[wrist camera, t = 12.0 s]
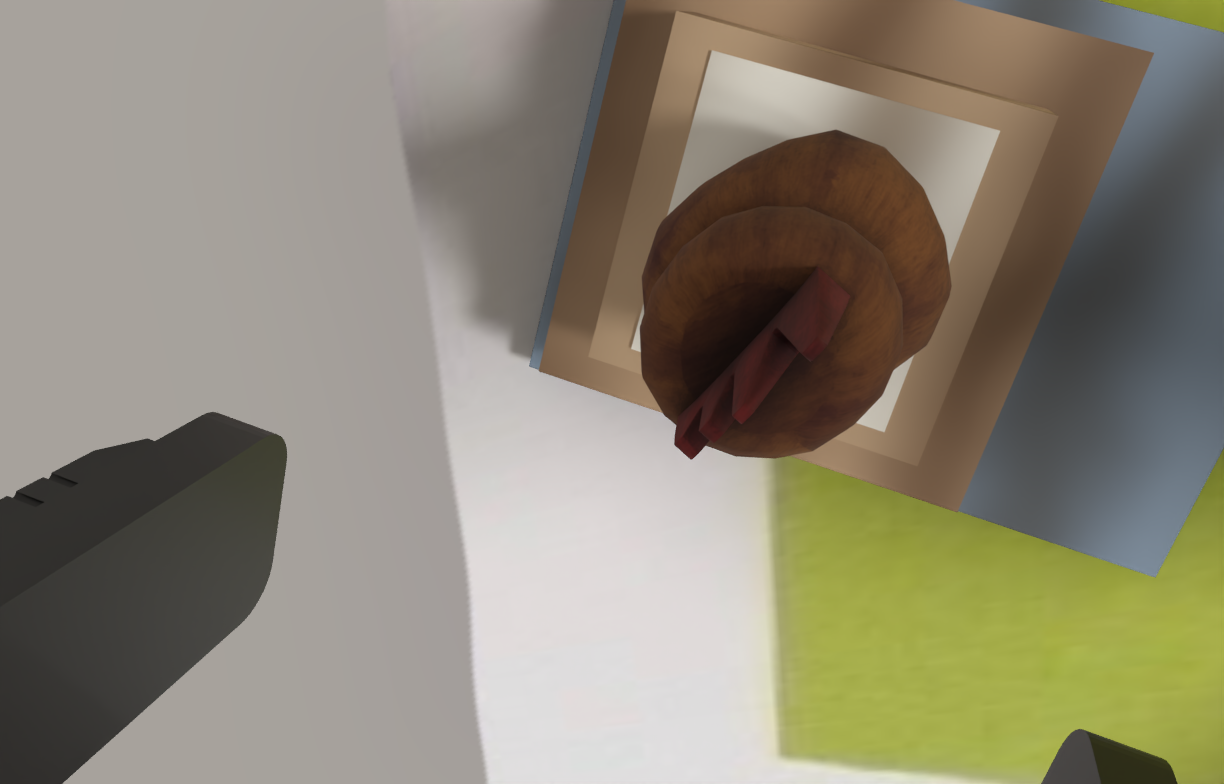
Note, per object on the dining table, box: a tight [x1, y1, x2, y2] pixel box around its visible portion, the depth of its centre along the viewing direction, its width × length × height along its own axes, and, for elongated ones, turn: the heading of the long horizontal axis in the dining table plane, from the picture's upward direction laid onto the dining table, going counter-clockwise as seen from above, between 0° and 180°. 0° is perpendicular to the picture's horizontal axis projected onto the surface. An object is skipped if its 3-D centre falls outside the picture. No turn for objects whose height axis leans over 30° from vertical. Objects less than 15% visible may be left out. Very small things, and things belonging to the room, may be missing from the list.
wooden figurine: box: [640, 130, 952, 460], centre depth 22 cm, size 7×6×15 cm
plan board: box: [529, 0, 1224, 577], centre depth 31 cm, size 22×16×6 cm
